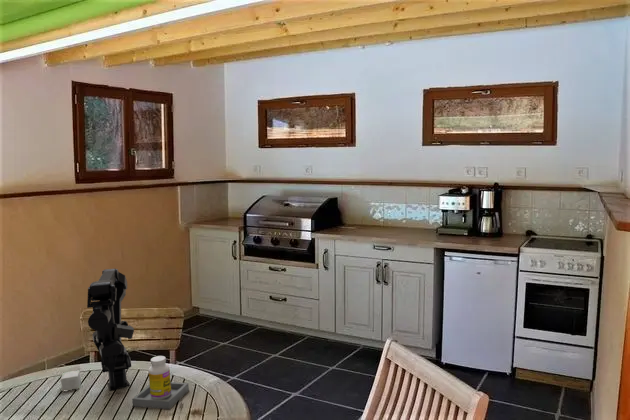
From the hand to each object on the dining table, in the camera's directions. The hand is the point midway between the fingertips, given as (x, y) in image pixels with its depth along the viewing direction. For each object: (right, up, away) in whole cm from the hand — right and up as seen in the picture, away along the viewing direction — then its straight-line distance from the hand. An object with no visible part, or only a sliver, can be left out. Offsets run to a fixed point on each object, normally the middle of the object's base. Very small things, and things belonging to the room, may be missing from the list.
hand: (109, 367), depth 170 cm
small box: (-19, -12, +14) cm, 26 cm away
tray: (+16, -11, +3) cm, 20 cm away
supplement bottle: (+16, -11, +3) cm, 19 cm away
